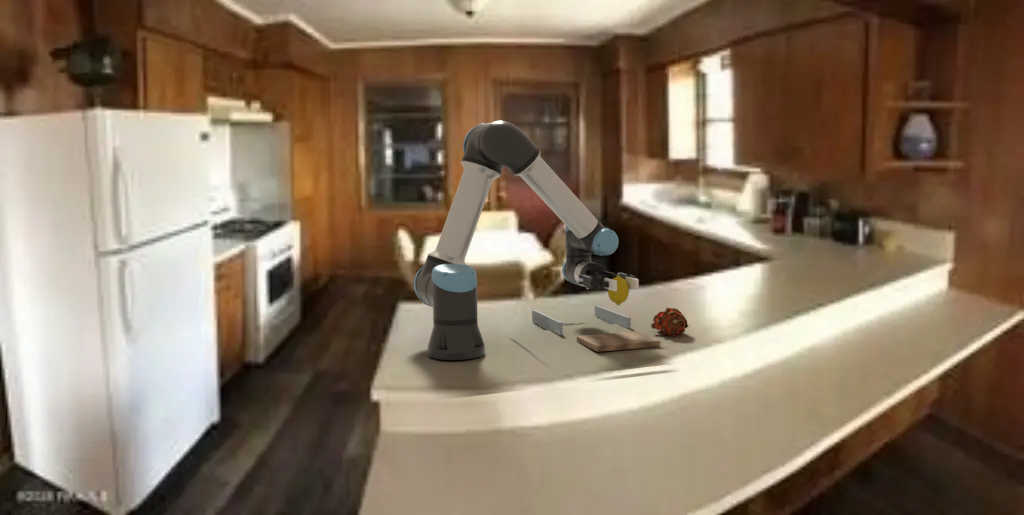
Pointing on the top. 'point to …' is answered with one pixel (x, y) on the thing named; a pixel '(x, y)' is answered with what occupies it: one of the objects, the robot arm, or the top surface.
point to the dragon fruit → (670, 322)
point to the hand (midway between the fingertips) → (626, 285)
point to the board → (618, 341)
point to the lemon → (619, 291)
